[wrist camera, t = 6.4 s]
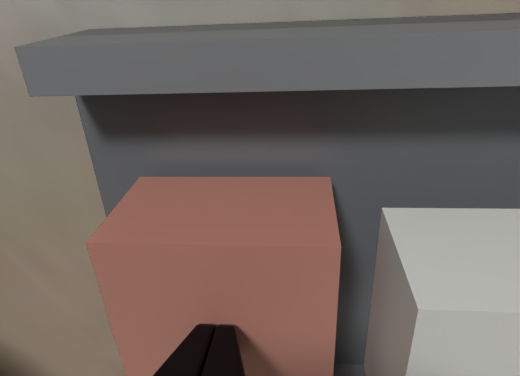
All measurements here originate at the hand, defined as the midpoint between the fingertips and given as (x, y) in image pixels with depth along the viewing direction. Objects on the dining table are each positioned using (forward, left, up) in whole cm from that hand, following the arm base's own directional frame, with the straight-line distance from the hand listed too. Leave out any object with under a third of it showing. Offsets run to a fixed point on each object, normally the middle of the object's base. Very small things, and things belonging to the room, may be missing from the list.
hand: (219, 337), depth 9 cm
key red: (0, 0, -3) cm, 3 cm away
